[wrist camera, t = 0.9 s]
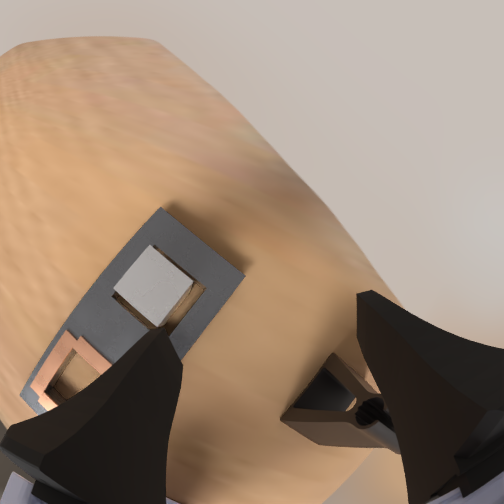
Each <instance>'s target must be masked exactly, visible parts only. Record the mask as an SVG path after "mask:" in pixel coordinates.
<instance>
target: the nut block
mask: <svg viewBox="0 0 504 504" xmlns="http://www.w3.org/2000/svg"><path fill="white" fill-rule="evenodd" d="M192 285H193V281H192V280H191V279H190V278H189V277H188V276H186V275H185V274H184V273H183V272H181V271H180V270H179V269H178V268H177V267H175V266H174V265H173V264H172V263H171V262H170V261H168V260H167V259H166V258H165V257H164V256H162V255H161V254H160V253H159V252H158V251H157V250H155V249H154V248H153V247H152V246H151V245H149V246H148V247H147V248H146V249H145V251H144V252H143V253H142V254H141V255H140V256H139V258H138V259H137V260H136V261H135V262H134V263H133V265H132V266H131V267H130V268H129V269H128V271H127V272H126V273H125V274H124V275H123V277H122V278H121V279H120V280H119V282H118V283H117V284H116V285H115V287H114V288H113V289H114V290H116V291H117V292H118V293H119V294H120V295H121V296H122V297H123V298H124V299H125V300H126V301H128V302H129V303H130V304H131V305H132V306H133V307H134V308H135V309H137V310H138V311H139V312H140V313H141V314H142V315H143V316H145V317H146V318H147V319H148V320H149V321H151V322H152V323H153V324H154V325H155V326H157V327H160V326H164V325H165V323H166V322H167V321H168V319H169V318H170V317H171V316H172V314H173V313H174V312H175V311H176V309H177V308H178V307H179V305H180V304H181V303H182V302H183V300H184V299H185V298H186V297H187V295H188V294H189V293H190V291H191V288H192Z"/></svg>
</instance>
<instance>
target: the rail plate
mask: <svg viewBox="0 0 504 504" xmlns="http://www.w3.org/2000/svg"><path fill="white" fill-rule="evenodd" d="M149 245H151V246H152V247H153V248H154V249H155V250H157V251H158V252H159V253H160V254H161V255H163V256H164V257H165V258H166V259H167V260H168V261H170V262H171V263H172V264H173V265H174V266H176V267H177V268H178V269H179V270H180V271H182V272H183V273H184V274H185V275H186V276H188V277H189V278H190V279H191V280H193V281H194V282H195V283H196V284H197V285H199V286H200V287H201V288H202V289H204V290H205V291H204V293H203V294H202V295H201V296H200V298H199V299H198V300H197V302H196V303H195V304H194V305H193V307H192V308H191V309H190V310H189V312H188V313H187V314H186V315H185V317H184V318H183V319H182V321H181V322H180V323H179V324H178V326H177V327H176V328H175V330H174V331H173V332H172V333H171V335H170V336H169V338H170V340H171V342H172V344H173V346H174V349H175V351H176V353H177V355H178V357H179V359H180V360H182V358H183V357H184V356H185V354H186V353H187V352H188V350H189V349H190V348H191V347H192V345H193V344H194V343H195V341H196V340H197V339H198V338H199V336H200V335H201V334H202V332H203V331H204V330H205V328H206V327H207V326H208V325H209V323H210V322H211V321H212V319H213V318H214V317H215V315H216V314H217V313H218V312H219V310H220V309H221V308H222V306H223V305H224V304H225V302H226V301H227V300H228V298H229V297H230V296H231V295H232V293H233V292H234V291H235V289H236V288H237V287H238V285H239V284H240V283H241V281H242V280H243V279H244V277H245V275H244V274H243V273H241V272H240V271H239V270H238V269H236V268H235V267H234V266H233V265H231V264H230V263H229V262H228V261H226V260H225V259H224V258H223V257H221V256H220V255H219V254H218V253H216V252H215V251H214V250H213V249H211V248H210V247H209V246H208V245H207V244H205V243H204V242H203V241H202V240H200V239H199V238H198V237H197V236H195V235H194V234H193V233H192V232H191V231H189V230H188V229H187V228H186V227H185V226H183V225H182V224H181V223H180V222H178V221H177V220H176V219H175V218H174V217H172V216H171V215H170V214H169V213H168V212H166V211H165V210H164V209H163V208H162V207H160V208H159V209H158V210H157V211H156V212H155V213H154V214H153V215H152V216H151V217H150V219H149V220H148V221H147V222H146V223H145V224H144V225H143V226H142V227H141V228H140V229H139V231H138V232H137V233H136V234H135V235H134V236H133V237H132V238H131V239H130V241H129V242H128V243H127V244H126V245H125V246H124V247H123V249H122V250H121V251H120V252H119V253H118V254H117V256H116V257H115V258H114V259H113V260H112V262H111V263H110V264H109V265H108V266H107V268H106V269H105V270H104V271H103V273H102V274H101V275H100V276H99V278H98V279H97V280H96V281H95V283H94V284H93V285H92V286H91V288H90V289H89V290H88V292H87V293H86V294H85V296H84V297H83V298H82V300H81V301H80V302H79V304H78V305H77V306H76V308H75V309H74V310H73V312H72V313H71V314H70V316H69V317H68V319H67V320H66V321H65V323H64V324H63V326H62V327H61V329H60V330H59V332H58V333H57V335H56V336H55V337H54V339H53V340H52V342H51V344H50V345H49V347H48V348H47V350H46V351H45V353H44V354H43V356H42V358H41V359H40V361H39V362H38V364H37V366H36V367H35V369H34V371H33V372H32V374H31V376H30V377H29V379H28V381H27V383H26V384H25V386H24V388H23V390H22V391H21V393H20V396H21V397H22V398H23V400H24V401H25V402H26V403H27V404H28V405H29V406H30V407H31V408H32V409H33V410H34V411H35V412H36V413H37V414H38V415H41V414H43V413H45V412H47V411H49V410H51V409H53V408H55V407H57V406H58V405H60V404H62V403H63V402H65V401H66V400H65V399H64V398H63V397H62V396H61V395H60V394H59V393H58V392H57V391H56V390H55V389H54V388H53V386H54V385H55V383H56V382H57V380H58V379H59V377H60V376H61V374H62V373H63V371H64V370H65V368H66V367H67V365H68V364H69V362H70V361H71V359H72V358H73V356H74V355H75V353H76V352H78V353H79V354H80V355H81V356H82V357H83V358H84V359H85V360H86V361H87V362H88V363H89V364H90V365H91V366H92V367H93V368H95V369H96V370H97V371H98V372H99V373H100V374H101V375H102V374H103V373H104V372H105V371H106V370H107V369H109V368H110V367H111V366H112V365H113V364H114V363H115V362H116V361H117V360H118V359H119V358H120V357H122V356H123V355H124V354H125V353H126V352H127V351H128V350H129V349H130V348H131V347H132V346H133V345H134V344H135V343H136V342H137V341H138V340H139V339H140V338H141V337H142V336H144V335H145V334H146V333H147V332H148V331H150V330H151V328H149V327H148V326H147V325H146V324H145V323H143V322H142V321H141V320H140V319H139V318H138V317H136V316H135V315H134V314H133V313H132V312H131V311H130V310H129V309H127V308H126V307H125V306H124V305H123V304H122V303H121V302H120V301H119V300H118V299H116V298H117V297H118V296H119V295H120V294H119V293H118V292H117V291H116V290H114V289H113V288H114V287H115V285H116V284H117V283H118V282H119V280H120V279H121V278H122V277H123V275H124V274H125V273H126V272H127V271H128V269H129V268H130V267H131V266H132V265H133V263H134V262H135V261H136V260H137V259H138V258H139V256H140V255H141V254H142V253H143V252H144V251H145V249H146V248H147V247H148V246H149Z"/></svg>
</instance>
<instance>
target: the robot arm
mask: <svg viewBox="0 0 504 504" xmlns="http://www.w3.org/2000/svg"><path fill="white" fill-rule="evenodd" d="M357 339H358V342H359V345H360V348H361V351H362V353H363V356H364V359H365V361H366V363H367V365H368V367H369V369H370V371H371V373H372V376H373V378H374V380H375V382H376V384H377V386H378V388H379V390H380V392H381V394H382V396H383V398H384V401H385V403H386V405H387V408H388V410H389V413H390V416H391V419H392V423H393V426H394V429H395V433H396V437H397V440H398V444H399V448H400V452H401V457H402V462H403V466H404V472H405V478H406V485H407V492H408V502H409V504H504V349H501V348H496V347H491V346H488V345H484V344H481V343H477V342H474V341H470V340H467V339H464V338H462V337H459V336H456V335H454V334H452V333H449V332H447V331H444V330H442V329H440V328H438V327H436V326H434V325H432V324H430V323H428V322H426V321H424V320H422V319H420V318H418V317H417V316H415V315H413V314H411V313H409V312H408V311H406V310H405V309H403V308H401V307H400V306H398V305H396V304H395V303H393V302H391V301H390V300H388V299H387V298H385V297H383V296H382V295H380V294H378V293H377V292H375V291H373V290H369V291H365V292H361V293H357ZM182 371H183V364H182V362H181V360H180V359H179V357H178V355H177V353H176V351H175V349H174V346H173V344H172V342H171V340H170V338H169V336H168V334H167V332H166V330H165V328H158V329H151V330H150V331H148V332H147V333H146V334H145V335H144V336H142V337H141V338H140V339H139V340H138V341H137V342H136V343H135V344H134V345H133V346H132V347H131V348H130V349H129V350H128V351H127V352H126V353H125V354H124V355H123V356H122V357H120V358H119V359H118V360H117V361H116V362H115V363H114V364H113V365H112V366H111V367H110V368H109V369H107V370H106V371H105V372H104V373H103V374H102V375H101V376H100V377H98V378H97V379H96V380H95V381H94V382H92V383H91V384H90V385H89V386H87V387H86V388H85V389H83V390H82V391H80V392H79V393H78V394H76V395H75V396H73V397H71V398H70V399H68V400H67V401H65V402H63V403H62V404H60V405H58V406H57V407H55V408H53V409H51V410H49V411H47V412H45V413H43V414H41V415H38V416H36V417H34V418H31V419H28V420H25V421H22V422H20V423H17V424H13V425H11V426H10V427H9V429H8V430H7V432H6V434H5V436H4V438H3V439H2V441H1V443H0V450H1V451H2V452H3V453H4V454H5V455H6V456H7V457H8V458H9V459H10V460H11V461H12V462H14V463H15V464H16V465H17V466H18V467H20V468H21V469H22V470H24V471H25V472H26V473H27V474H29V475H30V476H31V477H33V478H34V479H36V481H35V484H33V483H31V482H30V481H28V480H26V479H25V478H23V477H21V476H20V475H18V474H17V473H15V472H12V474H11V476H10V478H9V481H8V483H7V486H6V488H5V491H4V493H3V496H2V498H1V501H0V504H179V503H177V502H175V501H173V500H171V499H169V498H167V497H166V461H167V449H168V441H169V435H170V430H171V426H172V422H173V418H174V414H175V410H176V406H177V402H178V397H179V393H180V389H181V381H182Z"/></svg>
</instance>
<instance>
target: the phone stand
mask: <svg viewBox="0 0 504 504" xmlns="http://www.w3.org/2000/svg"><path fill="white" fill-rule="evenodd" d="M355 397H356V398H357V401H356V404H355V405H354V407H353V408H352V409H350V410H349V411H346V409H347V408H348V407H349V405H350V404H351V403H352V401H353V400H354V398H355ZM280 421H282V422H283V423H285V424H286V425H288V426H289V427H291V428H292V429H294V430H295V431H297V432H299V433H300V434H302V435H303V436H305V437H307V438H308V439H310V440H311V441H313V442H315V443H316V444H318V445H325V446H338V447H359V448H388V449H390V450H391V451H393V452H395V453H396V454H401V452H400V448H399V444H398V440H397V437H396V433H395V429H394V426H393V423H392V419H391V416H390V413H389V410H388V408H387V405H386V403H385V401H384V398H383V396H382V394H378V393H377V392H376V391H375V390H374V389H373V388H372V387H371V386H370V385H369V384H368V382H367V381H365V380H364V379H363V378H362V377H361V376H360V375H359V374H357V373H356V372H355V371H354V370H353V369H352V368H351V367H349V366H348V365H347V364H346V363H345V362H344V361H343V360H342V359H340V358H339V357H338V356H337V355H336V354H335V353H332V354H331V355H330V356H329V357H328V359H327V360H326V362H325V363H324V364H323V366H322V367H321V368H320V370H319V371H318V372H317V374H316V375H315V376H314V378H313V379H312V380H311V382H310V383H309V384H308V387H307V388H305V389H304V390H303V392H302V393H301V394H300V395H299V397H298V398H297V399H296V400H295V402H294V403H293V404H292V405H291V406H290V408H289V409H288V410H287V411H286V412H285V413H284V415H283V416H282V417H281V418H280Z"/></svg>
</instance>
